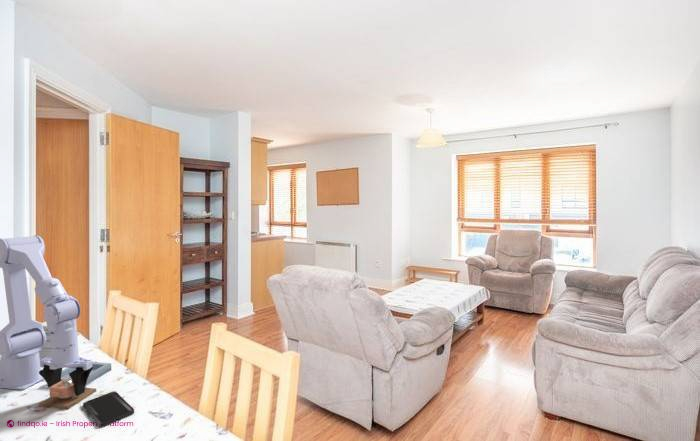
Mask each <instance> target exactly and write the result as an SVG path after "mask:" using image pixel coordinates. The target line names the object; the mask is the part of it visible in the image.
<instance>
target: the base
mask: <svg viewBox="0 0 700 441" xmlns="http://www.w3.org/2000/svg"><path fill="white" fill-rule="evenodd" d="M96 392H97V388H95V387H94V388H93V387H85V391H84V393H82V394H80V395H79V396H75V397H73V398H71V399H68V400H58V397H51V396H49V397H48V398H46V399H44V400H42V401H41V402H39V403H38V404H37V406H38V408H48V409H60V410H70V409H71V408H72V407H75V405H77V404H79V403H80V402H82V401H83V400H85V399H87V398H88V397H89V396H91V395H93V394H94V393H96Z"/></svg>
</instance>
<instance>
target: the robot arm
mask: <svg viewBox="0 0 700 441" xmlns="http://www.w3.org/2000/svg"><path fill="white" fill-rule="evenodd" d="M45 248H46V246H45V242H44V240H43V238H42V237H41V236H39V235H37V234H35V235H31V236H20V237H11V238H10V237H9V238H0V269H1V270H2V275H3V281H4V282H3V283H4V290H5V296H6V298H5V299H6V305H7V314H8V321H9V322H8V323H7V324H6V325H5V326H3V328H2V329H0V357H1V358H0V389H10V390H26V389H27V388H29V387H31V386H34V385H35V384H37V383H39V382H41V381H43V380H44V381H45V382H46V384H47V386H48V388H49V387H51V386H53V385H55V384H56V383H58V382H60V381H61V373H62V370H63V368H64V369H66V368H76V370H74V371H73V372H71V373H69V376H70V377H71V379H72V381H73V384H74V391H75V395H76V396H79V395H80V394H82V393H84V391H85V388H86V386H87V385H86V382H87V379H88V377H89V374H90V372H91V371H92V369H93V365H92V362H93V360H92V359H87V358H84V357H81V356H80V355H79V342H78V327H77V319H79V318H80V316H81V312H82V311H81V310H82V309H81V305H80V303H79V301H78V299H76V298H75V297H73V296H72V295H69V294H68V293H67V292H66V289H65V288H64V286H63V284H62V282H61V281H60V280H59V279H58V278H56V277H52V275H51V272H50V270H49V267H48V265H47V263H46V261H45V258H44V255H45V250H46V249H45ZM26 271H27V272H28V274H29V275H30V276H31V277H32V278H31V279H33V281H34V282H35V283H36V285H35V287H34V292H35V294H36V295H37V297H38V299H39V300H40V303H41V304H42V306H43V308H44V310H43V319H44V320H45V321H46V323H47V329H48V331H50V336H51V351H52V357H46V358H44V359H41V360H40V358H39V351H40V350H42V348H41V347H42V346H44V344H45V342H46V334H45V332H44V330H43V326H42V323H43V322H40V321H38V320H35V319H32V312H31V311H32V310H31V304H30V294H29V288H28V280H27V279H28V278H27V272H26ZM45 321H44V322H45ZM41 368H42V369H41Z"/></svg>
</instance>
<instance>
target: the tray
mask: <svg viewBox="0 0 700 441" xmlns="http://www.w3.org/2000/svg"><path fill="white" fill-rule="evenodd" d="M92 365H93V369H92V371H91V372H90V374H89V377H88V379H87V382H86V386H87V385H89V384H91V383H92V382H94V381H96V380H97V379H99V378H101V377H102V376H104V375H105V374H107V373H109V372H110V371H112V362H111V363H110V362H97V361H92ZM74 370H76V368H64V369H62V373H61V381H62V380H64V379H66V378H67V377H70V376H69V373H71V372H73V371H74Z"/></svg>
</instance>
